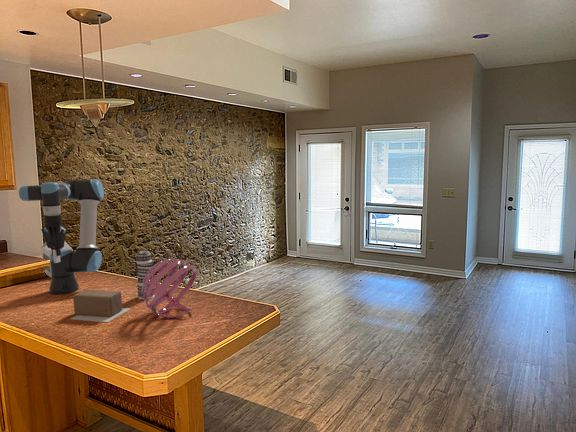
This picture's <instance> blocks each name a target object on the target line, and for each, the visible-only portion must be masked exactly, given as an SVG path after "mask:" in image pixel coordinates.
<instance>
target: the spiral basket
mask: <svg viewBox="0 0 576 432" xmlns="http://www.w3.org/2000/svg"><path fill="white" fill-rule="evenodd" d="M171 261H172V262H171ZM169 262H171V263H170V264H168V263H169ZM182 263H183V266H182V267H181V268H180V269H179V265H180V264H182ZM152 269H153V270H152ZM151 270H152V272H151ZM190 270H192V275H191V276H190V278H189V280H188V282H187V283H186V285H185V287H184V288H183V289H182V291H180V293H179V294H178V295H177V296H176V297H173V294H174V292H176V290H177V289H178V288H179V287H180V286H181V284H182V283H183V282H184V279H185V278H186V276H187V274H188V272H189V271H190ZM157 271H158V273H157ZM150 272H151V273H150ZM168 272H169V273H168ZM149 273H150V274H149ZM155 273H157V274H156V275H155ZM167 273H168V274H167ZM148 274H149V275H148ZM166 274H167V275H166ZM165 275H166V277H165V278H164V279H163V280H162V281H161V282H160V280H161V279H162V278H163V277H164V276H165ZM197 275H198V269H197V268H196V267H195V265H192V264H189V262H188V261H187V260H185V259H177V258H173V257H172V258H167V259H165V260H160V261H158V262H157V263H155V264H153V266H152V267H151V268H150V270H149V271H148V272H147V274H146V275H145V277H144V280H143V286H142V294H143V297H144V299H143V300H144V303H145V305H146V307H148V309H149V310H150V311H151V312H152V313H153V314H155V315H156V316H158V317H161V318H163V319H164V318H165V319H176V318H180V317H183V316H185V315H186V314H188V313H190V312H192V311H194V310H195V308H194V307H192V308H189V307H187V306H184V305H183V304H182V303H181V300H182V299H183V298H184V297H185V295H186V294H187V293H188V291H189V290H190V289H191V287H193V284H194V282H195V281H196V279H197ZM151 277H152V279H151V280H150V278H151ZM173 283H174V284H173ZM172 284H173V285H172ZM149 285H150V286H149ZM171 285H172V286H171ZM146 286H149V288H148V289H147V291H146ZM170 286H171V287H170ZM153 295H154V297H153V298H152V299H153V300H152V301H151V302H149V299H148V298H149V297H150V296H153ZM165 301H168V304H167V305H166V306H164V307H162V308H161V309H159V310H157V306H158V305H159V306H160V305H161V304H162V303H163V302H165ZM174 307H175V308H178V309H180V310H181V311H184V312H183V313H181V314H178V315H164V314H165V313H166V312H168V311H170V310H171V309H172V308H174Z"/></svg>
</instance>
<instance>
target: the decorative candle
mask: <svg viewBox="0 0 576 432" xmlns="http://www.w3.org/2000/svg"><path fill="white" fill-rule="evenodd" d="M135 256H136V261H135V262H134V264H135V265H134V266H135V267H134V268H135V272H136V278H137V286H136V287H137V297H138V298H137V299H139V300H144V297H143V294H142V286H143V280H144V277H145V275H146V274H147V272H148V271H149V270H150V268H151V267H153V266H154V261H153V260H152V253H151V252H150V251H149V250H140V251H137V253H136V254H135ZM153 269H154V268H153ZM153 269H152V270H151V272H152V271H153ZM151 272H150V273H151ZM150 273H149V274H150ZM149 274H148V275H149ZM152 278H153V276H152V277H151V278H150V280H151V279H152ZM149 286H150V285H149ZM149 286H146V291H147V289H148V288H149ZM154 297H155V294H154V295H153V296H150V297H149V298H148V300H149V299H154Z"/></svg>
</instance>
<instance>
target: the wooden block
mask: <svg viewBox="0 0 576 432" xmlns="http://www.w3.org/2000/svg"><path fill="white" fill-rule="evenodd" d="M72 298H73V310H74V311H73V312H74V315H75V316H77V315H90V316H106V317H111V316H113V315H115V314H116V313H118V312H120V311H122V308H123V303H122V302H123V301H122V300H123V299H122V292H121V291H119V290H118V291H117V290H103V289H102V290H100V289H84V290H82V291H80V292H78V293H76V294H74V295H73V297H72Z"/></svg>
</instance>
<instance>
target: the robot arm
mask: <svg viewBox="0 0 576 432" xmlns="http://www.w3.org/2000/svg"><path fill="white" fill-rule="evenodd" d="M18 194H19V195H18V196H19V198H20V200H21V201H25V202H31V201H32V202H35V201H36V202H37V201H41V202H42V210H43V211H42V212H43V220H44V224H45V227H43V228H41V229H40V230H41V233H42V235H43V237H44V240H45V241H44V242H46V244H47V247H48V248H51V250H52V254H51V255H50V265H51V275H52V278H51V281H50V285H49V289H48V290H49V294H52V295H64V294H69V293H74V292H76V291H78V290H79V289H80V285H79V283H78V281H77V278H76V277H75V275H76V274H75V275H74V272H75V273H91V272H97V271H98V270H99V269H100V268H101V265H102V261H103V256H102V255H103V254H102V252H101V251H100V250H99V247H98V246H97V243H96V242H97V241H96V239H97V219H98V218H97V216H98V205H99V204H100V203H101V200H103V199H104V198H105V197H104V196H105V189H104V185H103V184H102V182H101V181H100V180H99V179H91V178H90V179H69V180H65V181H64V180H63V181H58V182H57V181H56V182H55V181H52V182H51V181H49V182H42V183H41V184H38V185H37V184H36V185H35V184H34V185H22V186H20V188H19V190H18ZM64 200H78V201H77V202H78V203H79V204H80V220H79V221H80V222H79V244H78V246H77V247H76V248H75V251H74V250H73V251H72V249H73V248H72V249H66V250H61V251H60V249H61V248H63V247H64V242H66V240H65V239H66V234H67V231H68V230H67V228H64V227H63V225H62V222H63V220H62V214H61V213H62V207H61V201H64Z"/></svg>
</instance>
